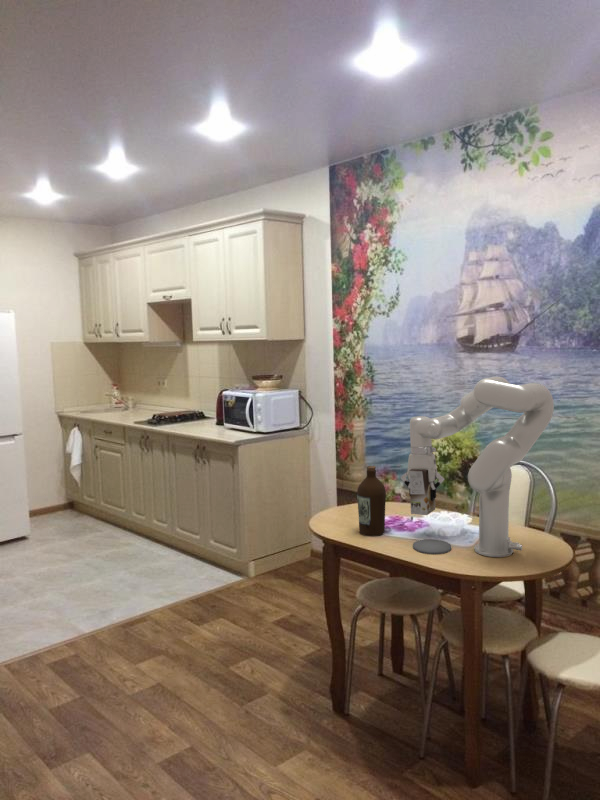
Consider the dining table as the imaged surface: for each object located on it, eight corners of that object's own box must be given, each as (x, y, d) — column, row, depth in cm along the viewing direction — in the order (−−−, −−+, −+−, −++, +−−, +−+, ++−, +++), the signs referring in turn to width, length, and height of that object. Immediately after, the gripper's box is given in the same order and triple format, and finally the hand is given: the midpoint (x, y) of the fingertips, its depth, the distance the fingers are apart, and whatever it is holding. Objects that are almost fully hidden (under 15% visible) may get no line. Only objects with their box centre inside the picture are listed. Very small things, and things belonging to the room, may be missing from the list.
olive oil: (373, 526, 252) (372, 462, 249) (392, 533, 243) (391, 467, 241) (351, 531, 246) (350, 466, 243) (370, 538, 237) (369, 471, 235)
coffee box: (427, 515, 232) (425, 471, 231) (410, 514, 236) (408, 470, 234) (436, 509, 240) (434, 466, 239) (419, 508, 244) (417, 465, 242)
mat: (454, 544, 229) (454, 541, 229) (446, 556, 217) (446, 553, 217) (418, 540, 235) (418, 537, 234) (408, 551, 223) (408, 548, 223)
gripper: (447, 449, 236) (449, 498, 237) (400, 448, 243) (402, 495, 245) (442, 453, 229) (444, 503, 231) (395, 451, 236) (396, 500, 238)
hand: (422, 498), depth 238 cm, fingers closed on coffee box, 6 cm apart
